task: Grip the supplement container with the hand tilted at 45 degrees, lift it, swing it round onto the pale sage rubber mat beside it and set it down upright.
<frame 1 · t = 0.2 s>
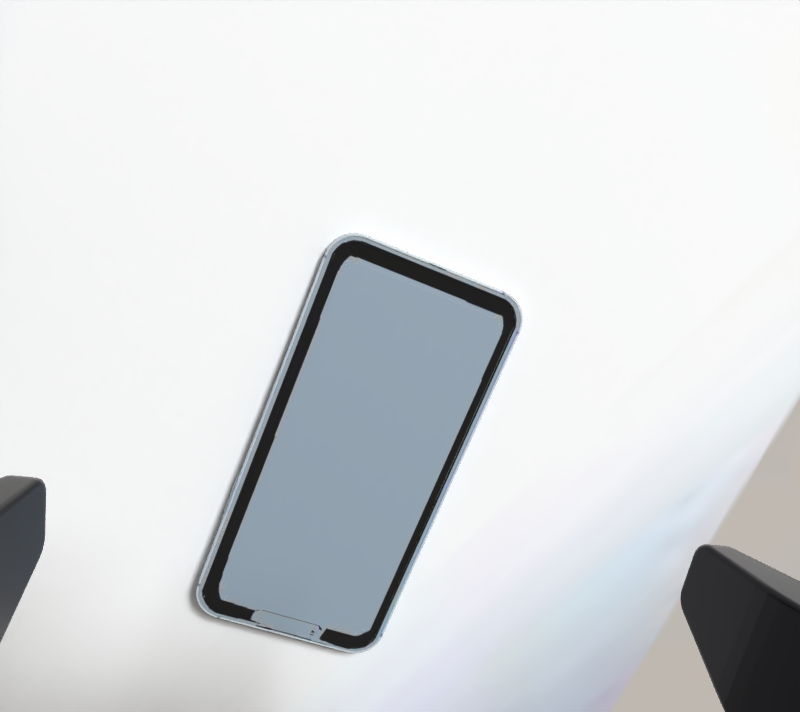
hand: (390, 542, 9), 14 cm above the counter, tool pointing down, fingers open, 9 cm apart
smartphone: (354, 449, 25), on the counter
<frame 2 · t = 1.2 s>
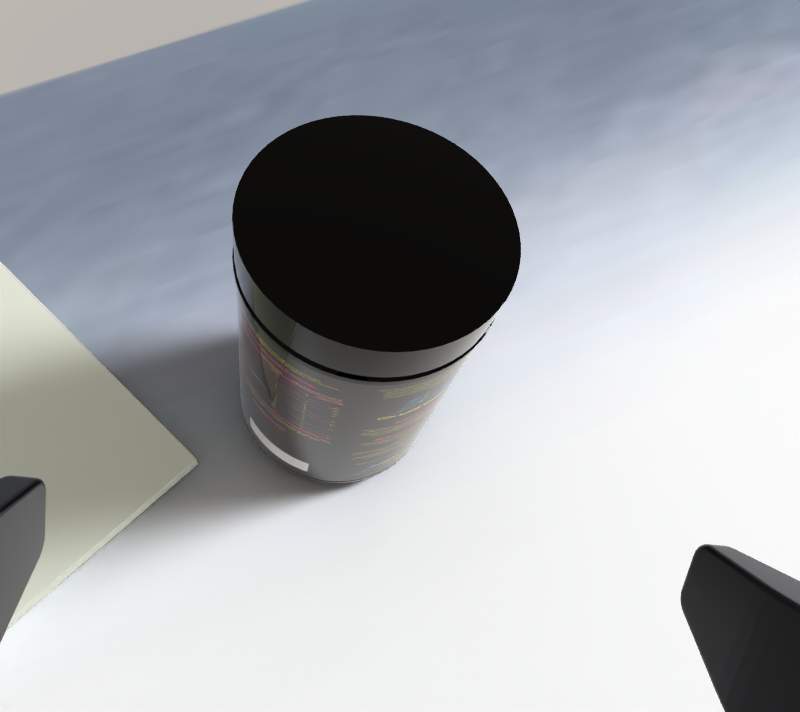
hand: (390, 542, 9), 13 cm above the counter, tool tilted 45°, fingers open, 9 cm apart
supplement container: (333, 402, 25), on the counter
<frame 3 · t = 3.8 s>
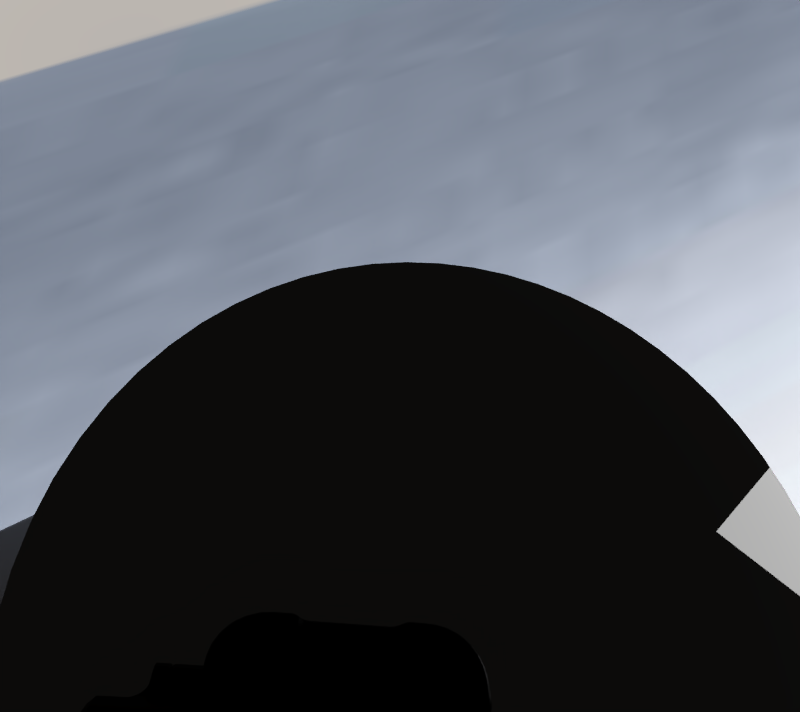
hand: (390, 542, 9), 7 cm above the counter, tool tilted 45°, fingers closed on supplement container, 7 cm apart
supplement container: (329, 673, 14), on the counter, touching gripper
when the fingers open (8 cm above the counter, at t = 8.0 s): supplement container drops 1 cm, resting on mat.
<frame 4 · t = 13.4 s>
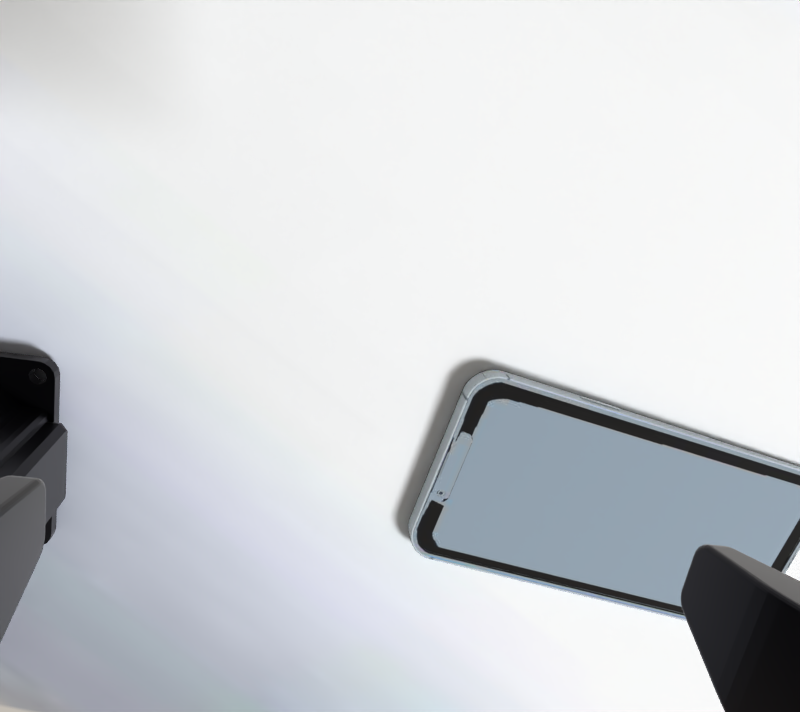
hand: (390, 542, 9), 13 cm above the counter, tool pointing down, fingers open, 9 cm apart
smartphone: (615, 501, 25), on the counter
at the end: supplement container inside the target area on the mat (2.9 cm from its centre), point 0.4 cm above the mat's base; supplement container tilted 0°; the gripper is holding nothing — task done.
